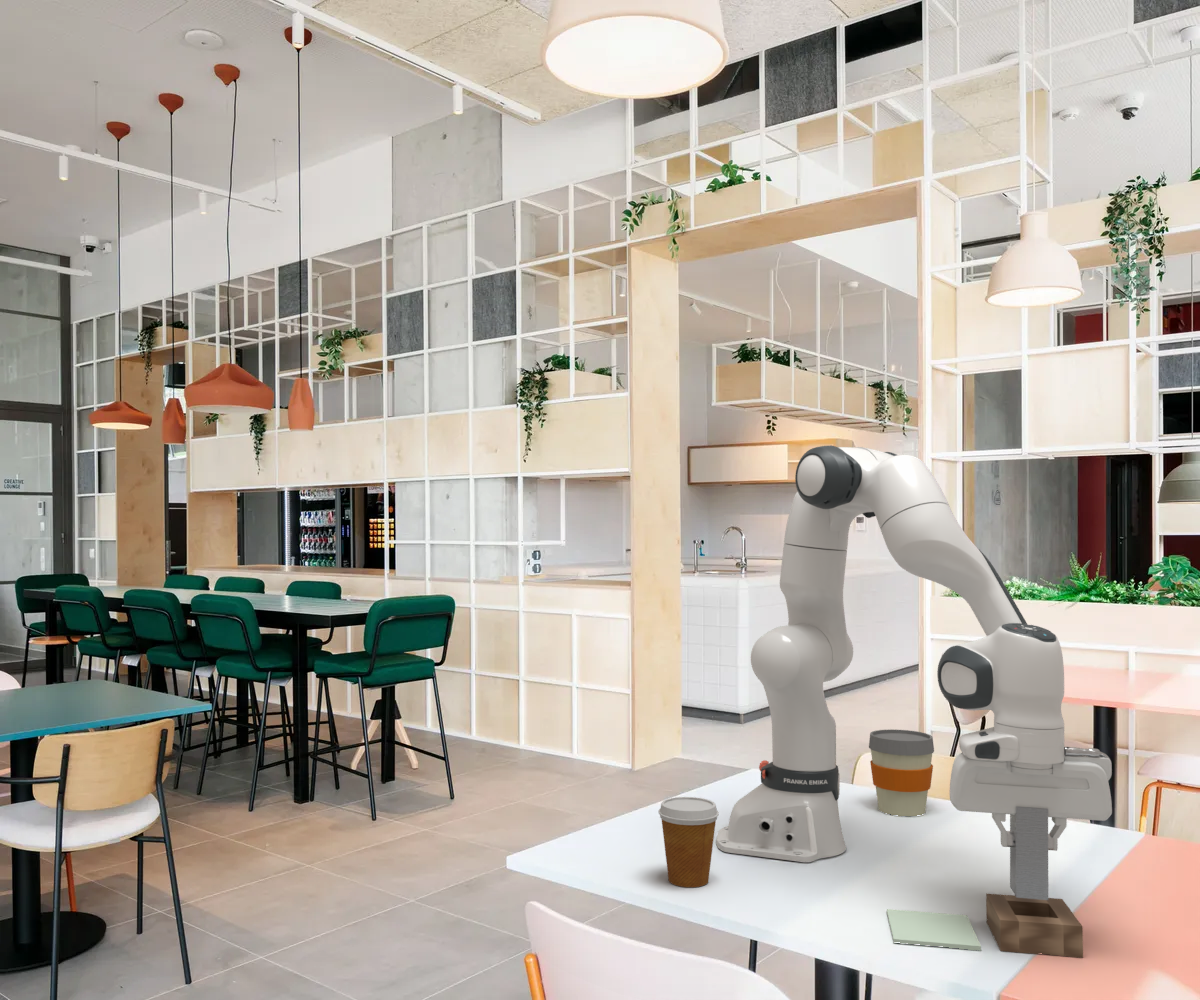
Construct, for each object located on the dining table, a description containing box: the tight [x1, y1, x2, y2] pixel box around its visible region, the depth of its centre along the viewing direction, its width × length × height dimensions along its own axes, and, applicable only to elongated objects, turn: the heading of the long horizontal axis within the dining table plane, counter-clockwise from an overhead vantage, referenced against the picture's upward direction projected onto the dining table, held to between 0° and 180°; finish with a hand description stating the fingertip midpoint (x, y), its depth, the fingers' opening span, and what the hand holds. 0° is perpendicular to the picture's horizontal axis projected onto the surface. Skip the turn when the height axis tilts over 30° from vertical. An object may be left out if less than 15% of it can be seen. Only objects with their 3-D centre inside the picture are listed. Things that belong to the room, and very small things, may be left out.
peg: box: [1009, 807, 1049, 900], centre depth 133 cm, size 4×4×12 cm
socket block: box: [985, 893, 1084, 959], centre depth 132 cm, size 10×10×4 cm
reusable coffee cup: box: [868, 729, 935, 817], centre depth 196 cm, size 13×12×15 cm
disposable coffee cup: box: [658, 796, 720, 888], centre depth 155 cm, size 10×10×12 cm
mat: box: [886, 908, 982, 952], centre depth 135 cm, size 11×11×1 cm
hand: (1028, 847), depth 133 cm, fingers closed on peg, 4 cm apart
